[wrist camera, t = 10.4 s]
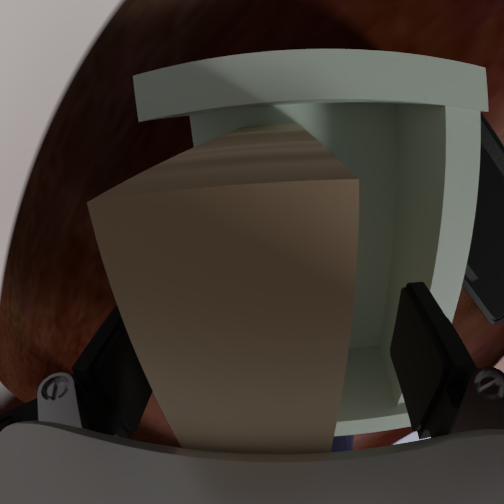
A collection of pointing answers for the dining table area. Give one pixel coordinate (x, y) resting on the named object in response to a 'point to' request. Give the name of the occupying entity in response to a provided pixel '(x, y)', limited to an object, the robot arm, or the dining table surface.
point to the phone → (488, 231)
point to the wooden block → (239, 286)
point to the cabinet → (360, 174)
